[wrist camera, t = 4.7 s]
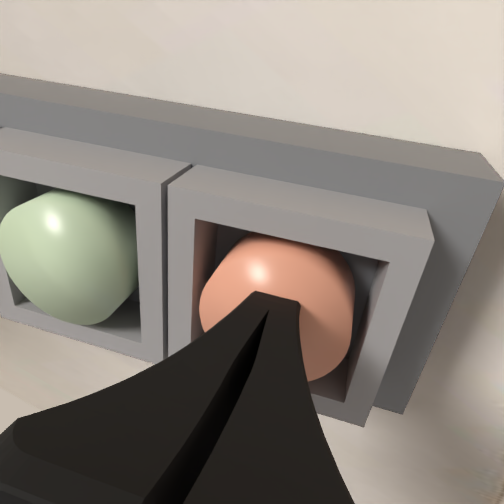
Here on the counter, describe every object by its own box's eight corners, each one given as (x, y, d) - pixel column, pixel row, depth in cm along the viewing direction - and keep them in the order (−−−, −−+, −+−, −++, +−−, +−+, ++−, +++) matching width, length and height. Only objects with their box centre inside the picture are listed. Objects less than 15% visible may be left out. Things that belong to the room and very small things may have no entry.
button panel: (480, 153, 13) (530, 211, 8) (399, 358, 17) (405, 463, 13) (-112, 55, 17) (-272, 61, 13) (-53, 237, 22) (-159, 286, 17)
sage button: (150, 196, 13) (115, 220, 11) (153, 304, 15) (124, 339, 13) (33, 170, 14) (-16, 190, 12) (52, 277, 16) (13, 306, 14)
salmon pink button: (371, 244, 11) (369, 279, 10) (338, 355, 14) (333, 400, 12) (226, 212, 12) (202, 240, 11) (218, 322, 15) (196, 360, 13)
